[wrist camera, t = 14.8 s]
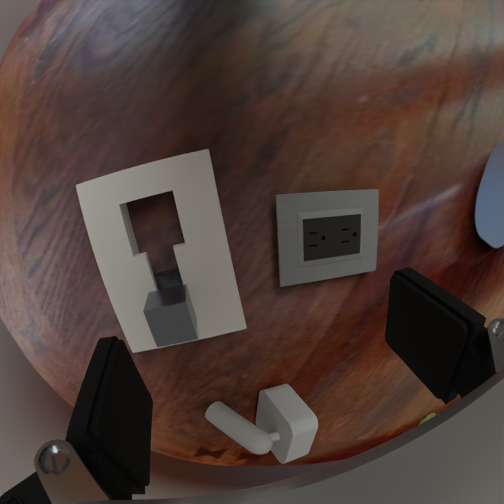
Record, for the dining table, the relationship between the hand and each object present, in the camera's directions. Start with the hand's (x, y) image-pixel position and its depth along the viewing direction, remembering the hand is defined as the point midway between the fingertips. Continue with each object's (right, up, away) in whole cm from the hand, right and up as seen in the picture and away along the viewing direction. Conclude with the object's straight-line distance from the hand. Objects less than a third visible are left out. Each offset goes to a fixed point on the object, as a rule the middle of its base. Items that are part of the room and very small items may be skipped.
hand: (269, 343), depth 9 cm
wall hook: (-1, -20, +32) cm, 38 cm away
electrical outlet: (+8, +5, +26) cm, 28 cm away
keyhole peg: (-9, -1, +24) cm, 26 cm away
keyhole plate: (-10, +3, +23) cm, 25 cm away
